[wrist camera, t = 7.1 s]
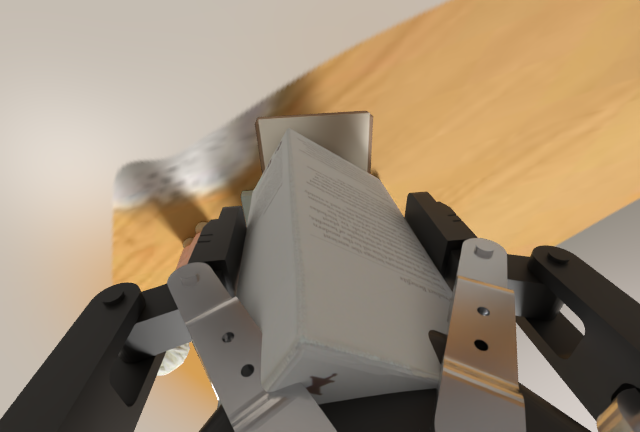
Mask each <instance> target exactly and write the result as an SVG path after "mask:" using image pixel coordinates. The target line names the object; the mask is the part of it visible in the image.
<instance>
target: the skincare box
mask: <svg viewBox="0 0 640 432" xmlns="http://www.w3.org/2000/svg"><path fill="white" fill-rule="evenodd" d="M452 293H453V292H452V291H451V289H450V288H449V286H448V285H447V283H446V282H445V280H444V279H443V277H442V275H441V274H440V272H439V271H438V269H437V268H436V266H435V265H434V263H433V261H432V260H431V258H430V257H429V255H428V254H427V252H426V250H425V249H424V247H423V246H422V244H421V243H420V241H419V240H418V238H417V237H416V235H415V234H414V232H413V230H412V229H411V227H410V226H409V224H408V223H407V221H406V220H405V218H404V216H403V215H402V213H401V212H400V210H399V209H398V207H397V206H396V204H395V203H394V201H393V199H392V198H391V196H390V195H389V193H388V192H387V190H386V188H385V187H384V185H383V184H382V182H381V181H380V179H378V178H376V177H375V176H373V175H371V174H369V173H368V172H366V171H364V170H362V169H361V168H359V167H357V166H355V165H354V164H352V163H350V162H348V161H346V160H345V159H343V158H341V157H340V156H338V155H336V154H334V153H332V152H331V151H329V150H327V149H325V148H324V147H322V146H320V145H318V144H316V143H315V142H313V141H311V140H309V139H308V138H306V137H304V136H302V135H301V134H299V133H297V132H295V131H294V130H292V129H290V128H288V129H287V130H286V132H285V134H284V136H283V137H282V139H281V141H280V143H279V145H278V146H277V148H276V150H275V152H274V153H273V155H272V157H271V159H270V161H269V163H268V165H267V167H266V169H265V170H264V172H263V174H262V176H261V178H260V180H259V182H258V183H257V185H256V187H255V189H254V190H253V193H252V198H251V205H250V210H249V216H248V222H247V230H246V236H245V241H244V247H243V253H242V259H241V265H240V271H239V278H238V285H237V291H236V297H237V298H238V299H239V301H240V302H241V303H242V305H243V306H244V308H245V309H246V310H247V312H248V313H249V315H250V316H251V318H252V319H253V320H254V322H255V323H256V325H257V326H258V327H259V329H260V330H261V332H262V333H263V334H262V350H261V385H262V387H263V389H264V390H265V391H266V392H273V391H277V390H279V389H282V388H284V387H287V386H289V385H292V384H295V383H299V382H301V383H302V384H303V385H304V386H305V388H306V389H307V390H308V392H309V393H310V394H311V396H312V397H313V399H314V400H315V401H316V403H317V404H323V403H330V402H336V401H343V400H349V399H355V398H361V397H368V396H375V395H382V394H388V393H396V392H404V391H412V390H423V389H433V388H437V384H438V380H439V372H440V367H441V365H440V362H439V360H438V358H437V355H436V353H435V351H434V349H433V346H432V344H431V342H430V339H429V336H428V333H429V331H430V330H435V331H438V332H441V333H444V334H446V333H447V328H448V322H447V316H448V309H449V305H450V301H451V297H452ZM220 405H221V402H220V400H219V401H218V407H219V406H220ZM217 409H218V408H217Z"/></svg>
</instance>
